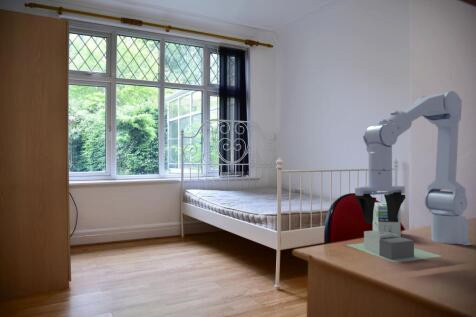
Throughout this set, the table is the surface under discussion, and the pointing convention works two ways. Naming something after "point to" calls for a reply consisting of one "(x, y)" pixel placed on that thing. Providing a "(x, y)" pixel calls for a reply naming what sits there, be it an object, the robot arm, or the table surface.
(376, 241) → the pale grey block
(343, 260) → the table surface
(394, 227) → the light bulb box
